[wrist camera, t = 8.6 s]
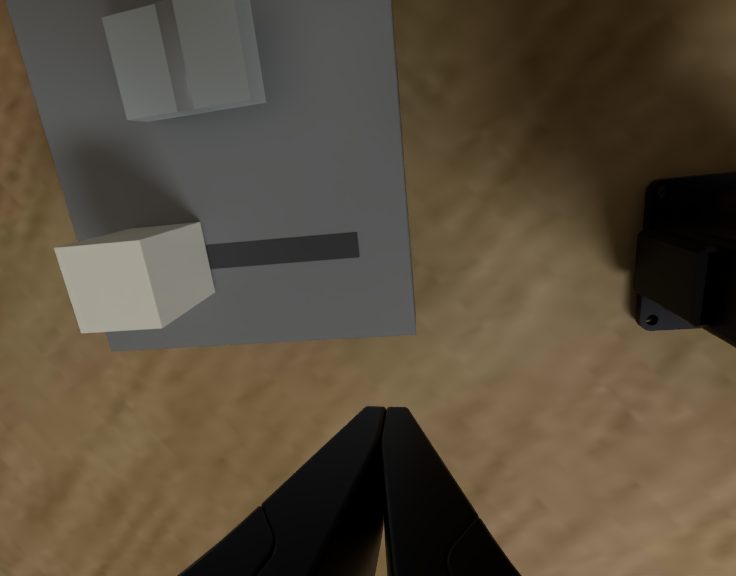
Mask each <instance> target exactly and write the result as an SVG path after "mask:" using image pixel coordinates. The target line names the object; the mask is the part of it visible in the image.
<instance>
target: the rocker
mask: <svg viewBox="0 0 736 576" xmlns="http://www.w3.org/2000/svg"><path fill="white" fill-rule="evenodd" d="M102 21H103V25H104V29H105V33H106V37H107V41H108V45H109V49H110V53H111V57H112V62H113V66H114V70H115V74H116V78H117V82H118V86H119V90H120V94H121V98H122V102H123V106H124V110H125V114H126V118H127V120H131V121H144V122H150V121H156V120H162V119H169V118H175V117H181V116H187V115H193V114H202V113H208V112H212V111H218V110H224V109H230V108H237V107H243V106H249V105H255V104H261V103H266V98H265V92H264V86H263V79H262V73H261V67H260V60H259V54H258V48H257V41H256V35H255V29H254V22H253V16H252V10H251V4H250V0H161V1H158V2H156V3H155V4H152V5H148V6H144V7H140V8H137V9H133V10H129V11H125V12H121V13H117V14H114V15H110V16H106V17H102Z"/></svg>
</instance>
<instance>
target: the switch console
mask: <svg viewBox="0 0 736 576" xmlns="http://www.w3.org/2000/svg"><path fill="white" fill-rule="evenodd" d="M5 1H6V5H7V8H8V11H9V15H10V18H11V21H12V25H13V28H14V31H15V34H16V38H17V41H18V44H19V48H20V51H21V54H22V58H23V61H24V64H25V68H26V71H27V74H28V77H29V81H30V84H31V87H32V91H33V94H34V97H35V101H36V104H37V107H38V111H39V114H40V117H41V121H42V124H43V127H44V130H45V134H46V137H47V140H48V144H49V147H50V150H51V154H52V157H53V160H54V164H55V167H56V170H57V173H58V177H59V180H60V183H61V187H62V190H63V193H64V197H65V200H66V203H67V207H68V210H69V213H70V216H71V220H72V223H73V226H74V230H75V233H76V236H77V240H78V242H79V241H83V240H87V239H91V238H95V237H99V236H103V235H107V234H111V233H115V232H119V231H123V230H127V229H131V228H140V227H151V226H161V225H172V224H183V223H193V222H200V224H201V229H202V233H203V238H204V243H205V247H206V252H207V256H208V261H209V266H210V270H211V275H212V280H213V284H214V289H215V293H213V294H212V295H210V296H209V297H207V298H206V299H205V300H203V301H202V302H200V303H199V304H197V305H196V306H194V307H193V308H191V309H190V310H188V311H187V312H186V313H184V314H183V315H181V316H180V317H178V318H177V319H175V320H174V321H172V322H171V323H169V324H168V325H166V326H165V327H164V328H161V329H144V330H128V331H112V332H106V336H107V339H108V342H109V346H110V349H111V351H128V350H146V349H165V348H183V347H201V346H219V345H237V344H255V343H273V342H291V341H310V340H328V339H346V338H364V337H382V336H400V335H416V313H415V300H414V286H413V273H412V260H411V247H410V233H409V220H408V207H407V193H406V180H405V167H404V154H403V140H402V127H401V114H400V101H399V87H398V74H397V61H396V48H395V34H394V21H393V8H392V0H250V4H251V10H252V16H253V22H254V29H255V35H256V41H257V48H258V54H259V60H260V67H261V73H262V79H263V86H264V92H265V98H266V103H261V104H255V105H249V106H243V107H237V108H230V109H224V110H218V111H212V112H208V113H202V114H193V115H187V116H181V117H175V118H169V119H162V120H156V121H150V122H144V121H131V120H127V118H126V114H125V110H124V106H123V102H122V98H121V94H120V90H119V86H118V82H117V78H116V74H115V70H114V66H113V62H112V57H111V53H110V49H109V45H108V41H107V37H106V33H105V29H104V25H103V21H102V17H106V16H110V15H114V14H117V13H121V12H125V11H129V10H133V9H137V8H140V7H144V6H148V5H152V4H155V3H156V2H158V1H161V0H5Z"/></svg>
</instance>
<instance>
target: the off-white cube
mask: <svg viewBox="0 0 736 576" xmlns="http://www.w3.org/2000/svg"><path fill="white" fill-rule="evenodd" d="M54 250H55V253H56V256H57V259H58V262H59V265H60V268H61V272H62V275H63V278H64V281H65V284H66V287H67V290H68V293H69V297H70V300H71V303H72V306H73V309H74V312H75V315H76V318H77V322H78V325H79V328H80V331H81V333H96V332H112V331H128V330H144V329H161V328H164V327H165V326H166V325H168V324H169V323H171V322H172V321H174V320H175V319H177V318H178V317H180V316H181V315H183V314H184V313H186V312H187V311H188V310H190V309H191V308H193V307H194V306H196V305H197V304H199V303H200V302H202V301H203V300H205V299H206V298H207V297H209V296H210V295H212V294H213V293H215V289H214V284H213V280H212V275H211V270H210V266H209V261H208V256H207V252H206V247H205V243H204V238H203V233H202V229H201V224H200V222H193V223H183V224H172V225H161V226H151V227H140V228H131V229H127V230H123V231H119V232H115V233H111V234H107V235H103V236H99V237H95V238H91V239H87V240H83V241H79V242H75V243H72V244H68V245H64V246H60V247H56V248H54Z"/></svg>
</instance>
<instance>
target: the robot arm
mask: <svg viewBox="0 0 736 576" xmlns="http://www.w3.org/2000/svg"><path fill="white" fill-rule="evenodd" d="M662 186H664V187H665V190H666V191H665V194H664V195H663V196H662V197H659V196H658V193H657V192H658V190H659V189H660V188H661V187H662ZM634 290H635V291H636V292H637V304H636V316H635V318H636V322H637V324H638V325H639V326H641V327H642V328H644V329H645V330H649V331H655V330H674V329H693V328H703V329H704V330H706V331H708V332H710V333H711V334H713V335H715V336H716V337H718V338H720V339H721V340H723V341H725V342H727V343H728V344H730V345H732V346H733V347H735V348H736V172H726V173H716V174H705V175H695V176H684V177H673V178H663V179H657V180H654V181H653V182H652V183H650V184H649V186H648V187H647V190H646V196H645V208H644V220H643V229H642V230H641V232H640V233H639V234H638V238H637V251H636V264H635V276H634ZM649 315H653V316H654V317H653V319H652V320H651V321H650V322H646V319H647V317H648V316H649ZM383 525H384V530H385V548H386V563H387V576H521V575H520V573H519V572H518V571H517V570H516V568H515V567H514V566H513V565H512V563H511V562H510V560H509V559H508V558H507V556H506V555H505V553H504V552H503V551H502V549H501V548H500V546H499V545H498V544H497V542H496V541H495V539H494V538H493V537H492V535H491V533H490V532H489V530H488V529H487V527H486V526H485V524H484V523H483V521H482V520H481V519H480V518H479V516H478V514H477V513H476V511H475V509H474V508H473V506H472V505H471V503H470V502H469V500H468V499H467V497H466V496H465V494H464V493H463V491H462V490H461V488H460V487H459V485H458V484H457V482H456V481H455V479H454V478H453V476H452V475H451V473H450V472H449V470H448V468H447V467H446V465H445V464H444V462H443V461H442V459H441V458H440V456H439V455H438V453H437V452H436V450H435V449H434V447H433V446H432V444H431V443H430V441H429V440H428V438H427V437H426V435H425V434H424V432H423V431H422V429H421V427H420V426H419V424H418V423H417V421H416V420H415V418H414V417H413V415H412V414H411V412H410V411H409V409H408V408H406V407H388V408H387V410H386V408H385V407H376V406H367V407H365V408H364V409H363V410H362V411H361V412H359V413H358V414H357V415H356V416H355V417H354V418H353V419H352V420H351V421H350V422H349V423H348V424H347V425H346V426H344V427H343V428H342V429H341V430H340V431H339V432H338V433H337V434H336V435H335V436H334V437H333V438H332V439H331V440H329V441H328V442H327V443H326V444H325V445H324V446H323V447H322V448H321V449H320V450H319V451H318V452H317V453H316V454H314V455H313V456H312V457H311V458H310V459H309V460H308V461H307V462H306V463H305V464H304V465H303V466H302V467H301V468H299V469H298V470H297V471H296V472H295V473H294V474H293V475H292V476H291V477H290V478H289V479H288V480H287V481H286V482H284V483H283V484H282V485H281V486H280V487H279V488H278V489H277V490H276V491H275V492H274V493H273V494H272V495H271V496H269V497H268V498H267V499H266V500H265V501H264V502H263V503H262V507H261V506H259V507H257V508H256V509H255V510H254V511H253V512H252V513H251V514H250V515H249V516H248V517H247V518H246V519H245V520H243V521H242V522H241V523H240V524H239V525H238V526H237V527H236V528H234V529H233V530H232V531H231V532H230V533H229V534H228V535H227V536H225V537H224V538H223V539H222V540H221V541H220V542H219V543H217V544H216V545H215V546H214V547H212V548H211V549H210V550H209V551H208V552H206V553H205V554H204V555H203V556H201V557H200V558H199V559H198V560H196V561H195V562H194V563H193V564H191V565H190V566H189V567H188V568H186V569H185V570H184V571H183V572H181V573H180V574H179V575H177V576H375V572H376V567H377V561H378V556H379V550H380V545H381V539H382V532H383Z"/></svg>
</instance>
